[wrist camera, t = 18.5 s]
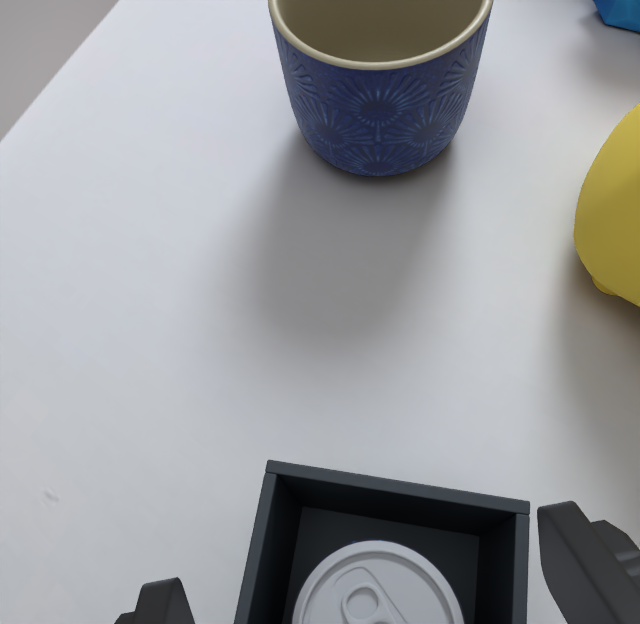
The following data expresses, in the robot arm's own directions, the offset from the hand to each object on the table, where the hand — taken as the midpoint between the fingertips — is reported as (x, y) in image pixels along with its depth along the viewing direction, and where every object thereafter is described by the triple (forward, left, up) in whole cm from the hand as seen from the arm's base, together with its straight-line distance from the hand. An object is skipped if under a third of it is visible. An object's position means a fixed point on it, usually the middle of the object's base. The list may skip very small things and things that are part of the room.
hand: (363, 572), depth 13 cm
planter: (+30, +4, -19) cm, 36 cm away
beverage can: (-1, 0, -18) cm, 18 cm away
